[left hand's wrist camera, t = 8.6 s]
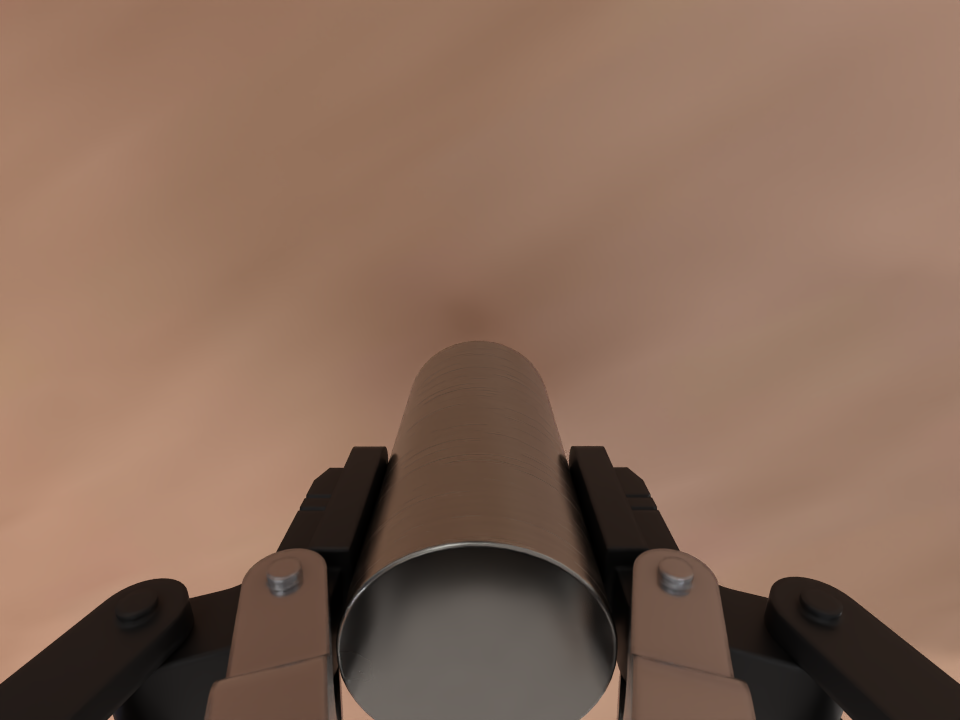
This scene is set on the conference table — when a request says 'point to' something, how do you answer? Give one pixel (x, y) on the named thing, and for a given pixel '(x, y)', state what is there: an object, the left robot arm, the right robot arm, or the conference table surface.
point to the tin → (477, 559)
